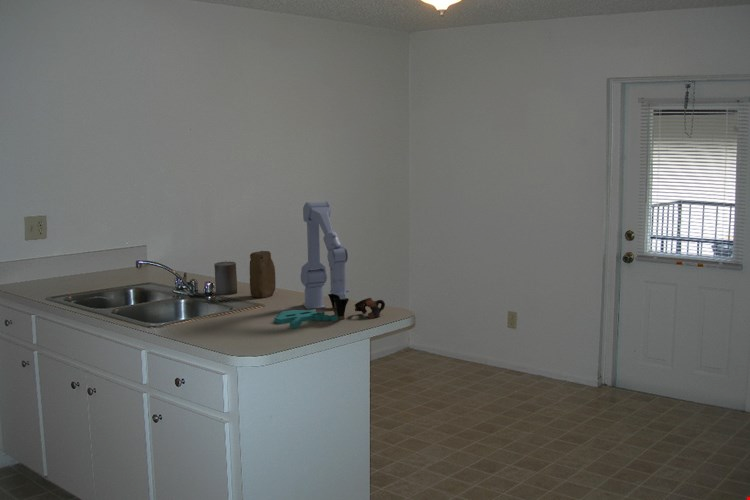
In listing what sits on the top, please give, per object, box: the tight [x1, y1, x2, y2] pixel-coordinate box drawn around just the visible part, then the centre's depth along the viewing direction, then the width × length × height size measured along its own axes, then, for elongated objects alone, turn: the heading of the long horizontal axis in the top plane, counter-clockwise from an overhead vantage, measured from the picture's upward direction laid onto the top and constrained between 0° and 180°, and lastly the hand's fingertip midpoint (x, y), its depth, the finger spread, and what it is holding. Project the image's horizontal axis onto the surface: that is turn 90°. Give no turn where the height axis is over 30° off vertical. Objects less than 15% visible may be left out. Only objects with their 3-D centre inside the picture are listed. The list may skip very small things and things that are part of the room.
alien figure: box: [273, 309, 339, 329], centre depth 296 cm, size 20×2×20 cm
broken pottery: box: [354, 297, 386, 320], centre depth 302 cm, size 12×10×8 cm
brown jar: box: [249, 250, 277, 299], centre depth 341 cm, size 11×8×20 cm
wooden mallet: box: [315, 302, 346, 321], centre depth 296 cm, size 4×10×6 cm, turn 106°
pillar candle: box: [213, 260, 238, 296], centre depth 349 cm, size 10×10×15 cm
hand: (338, 314), depth 297 cm, fingers open, 7 cm apart
